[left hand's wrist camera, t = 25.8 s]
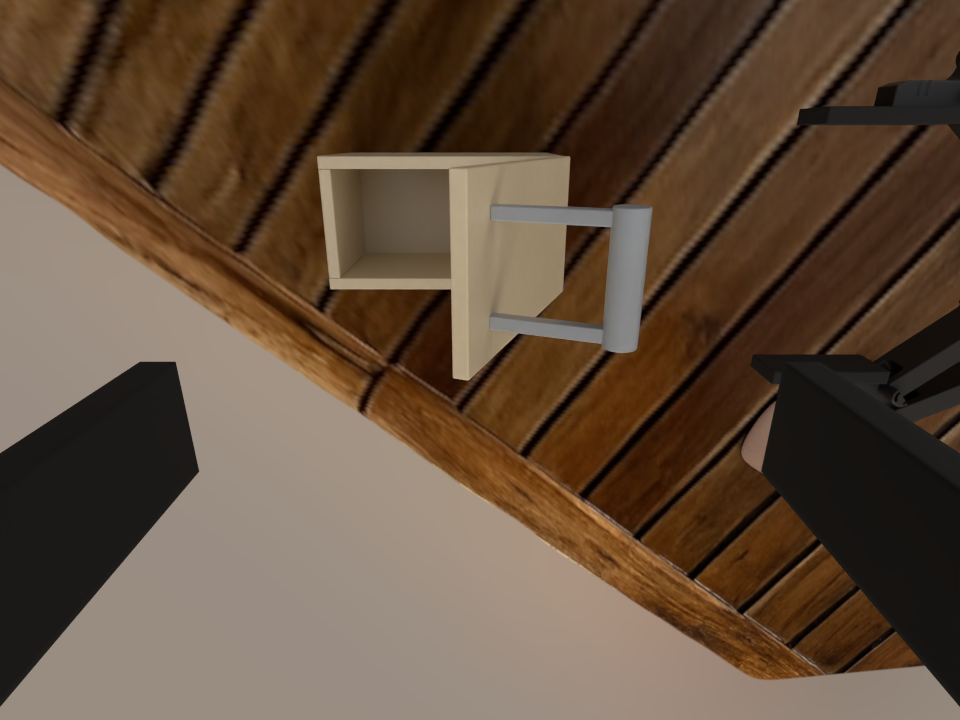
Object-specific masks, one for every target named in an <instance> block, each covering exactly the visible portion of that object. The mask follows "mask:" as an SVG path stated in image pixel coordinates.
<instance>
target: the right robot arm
mask: <svg viewBox="0 0 960 720" xmlns="http://www.w3.org/2000/svg"><path fill="white" fill-rule="evenodd" d="M956 66H957V68H956V70H955V71H954V73H953V74H952V75H951V76H950V77H949V78H948V79H947V80H945V81H902V82H895V83H889V84H886V85H884V86H881V87H879V88H878V92H877V96H876V100H875V104H874V106H830V107H819V108H808V109H800V111H799V117H798V122H797V125H937V124H948V125H949V127H950V128H951V129H952V130H953V131H954V133H955V134H956V135H957V136H958V138H959V139H960V51H959V53H958V55H957V57H956ZM959 303H960V301H959ZM784 362H821V363H823V364H824V365H826V366H827V367H829V368H830V369H832V370H833V371H835V372H836V373H838V374H839V375H841V376H842V377H844V378H845V379H847V380H848V381H850V382H852V383H853V384H855V385H856V386H858V387H859V388H861V389H862V390H864V391H865V392H867V393H868V394H870V395H871V396H873V397H874V398H876V399H878V400H879V401H881V402H882V403H884V404H885V405H887V406H888V407H890V408H891V409H893V410H894V411H896V412H897V413H899V414H900V415H902V416H903V417H905V418H907V419H908V420H910V421H911V422H915V421H917V420H920V419H923V418H925V417H928V416H930V415H933V414H935V413H938V412H941V411H943V410H946V409H948V408H951V407H953V406H956V405H959V404H960V305H959V306H958V307H957V308H956V309H954V310H953V311H951V312H950V313H948V314H946V315H945V316H943V317H942V318H940V319H939V320H937V321H936V322H934V323H932V324H931V325H929V326H928V327H926V328H925V329H923V330H922V331H920V332H919V333H917V334H915V335H914V336H912V337H911V338H909V339H908V340H906V341H905V342H903V343H902V344H900V345H898V346H897V347H895V348H894V349H892V350H891V351H889V352H888V353H886V354H884V355H883V356H881V357H880V358H878V359H877V360H875V361H874V362H872V361H870V360H869V359H867V358H865V357H863V356H862V355H753V357H752V362H751V367H752V368H754V369H755V370H756V371H757V372H758V373H760V374H761V375H762V376H763V377H764V378H766V379H767V380H768V381H769V382H770V383H771V384H780V380H781V376H782V371H783V366H784Z"/></svg>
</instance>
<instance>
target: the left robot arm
mask: <svg viewBox="0 0 960 720" xmlns="http://www.w3.org/2000/svg"><path fill="white" fill-rule="evenodd" d="M198 472H199V469H198V464H197V460H196V455H195V450H194V446H193V441H192V436H191V432H190V427H189V422H188V418H187V413H186V409H185V404H184V399H183V394H182V390H181V385H180V381H179V376H178V371H177V366H176V362H139V363H138V364H136V365H134V366H133V367H131V368H130V369H128V370H127V371H125V372H124V373H122V374H121V375H119V376H118V377H116V378H115V379H113V380H112V381H110V382H108V383H107V384H105V385H104V386H102V387H101V388H99V389H98V390H96V391H95V392H93V393H92V394H90V395H89V396H87V397H86V398H84V399H82V400H81V401H79V402H78V403H76V404H75V405H73V406H72V407H70V408H69V409H67V410H66V411H64V412H63V413H61V414H60V415H58V416H57V417H55V418H54V419H52V420H50V421H49V422H47V423H46V424H44V425H43V426H41V427H40V428H38V429H37V430H35V431H34V432H32V433H31V434H29V435H27V436H26V437H24V438H23V439H21V440H20V441H18V442H17V443H15V444H14V445H12V446H11V447H9V448H8V449H6V450H5V451H3V452H2V453H0V706H1V705H2V704H3V703H4V702H5V700H6V699H7V698H8V697H9V696H10V694H11V693H12V692H13V691H14V690H15V689H16V687H17V686H18V685H19V684H20V683H21V681H22V680H23V679H24V678H25V677H26V676H27V674H28V673H29V672H30V671H31V670H32V668H33V667H34V666H35V665H36V664H37V663H38V661H39V660H40V659H41V658H42V657H43V655H44V654H45V653H46V652H47V651H48V650H49V648H50V647H51V646H52V645H53V644H54V642H55V641H56V640H57V639H58V638H59V637H60V635H61V634H62V633H63V632H64V631H65V629H66V628H67V627H68V626H69V625H70V623H71V622H72V621H73V620H74V619H75V618H76V616H77V615H78V614H79V613H80V612H81V611H82V609H83V608H84V607H85V606H86V605H87V603H88V602H89V601H90V600H91V599H92V597H93V596H94V595H95V594H96V593H97V592H98V590H99V589H100V588H101V587H102V586H103V585H104V583H105V582H106V581H107V580H108V579H109V577H110V576H111V575H112V574H113V573H114V572H115V570H116V569H117V568H118V567H119V566H120V564H121V563H122V562H123V561H124V560H125V558H126V557H127V556H128V555H129V554H130V553H131V551H132V550H133V549H134V548H135V547H136V545H137V544H138V543H139V542H140V541H141V540H142V538H143V537H144V536H145V535H146V534H147V532H148V531H149V530H150V529H151V528H152V527H153V525H154V524H155V523H156V522H157V521H158V519H159V518H160V517H161V516H162V515H163V514H164V512H165V511H166V510H167V509H168V508H169V506H170V505H171V504H172V503H173V502H174V501H175V499H176V498H177V497H178V496H179V495H180V493H181V492H182V491H183V490H184V489H185V488H186V486H187V485H188V484H189V483H190V482H191V480H192V479H193V478H194V477H195V476H196V475H197V473H198ZM761 472H762V473H763V475H764V476H765V477H766V478H767V479H768V480H769V482H770V483H771V484H772V485H773V486H774V488H775V489H776V490H777V491H778V492H779V493H780V495H781V496H782V497H783V498H784V499H785V501H786V502H787V503H788V504H789V505H790V506H791V508H792V509H793V510H794V511H795V512H796V514H797V515H798V516H799V517H800V518H801V519H802V521H803V522H804V523H805V524H806V525H807V527H808V528H809V529H810V530H811V531H812V532H813V534H814V535H815V536H816V537H817V538H818V540H819V541H820V542H821V543H822V544H823V545H824V547H825V548H826V549H827V550H828V551H829V553H830V554H831V555H832V556H833V557H834V558H835V560H836V561H837V562H838V563H839V564H840V566H841V567H842V568H843V569H844V570H845V572H846V573H847V574H848V575H849V576H850V577H851V579H852V580H853V581H854V582H855V583H856V585H857V586H858V587H859V588H860V589H861V590H862V592H863V593H864V594H865V595H866V596H867V598H868V599H869V600H870V601H871V602H872V603H873V605H874V606H875V607H876V608H877V609H878V611H879V612H880V613H881V614H882V615H883V616H884V618H885V619H886V620H887V621H888V622H889V624H890V625H891V626H892V627H893V628H894V629H895V631H896V632H897V633H898V634H899V635H900V637H901V638H902V639H903V640H904V641H905V642H906V644H907V645H908V646H909V647H910V648H911V650H912V651H913V652H914V653H915V654H916V655H917V657H918V658H919V659H920V660H921V661H922V663H923V664H924V665H925V666H926V667H927V668H928V670H929V671H930V672H931V673H932V674H933V676H934V677H935V678H936V679H937V680H938V681H939V683H940V684H941V685H942V686H943V687H944V689H945V690H946V691H947V692H948V693H949V694H950V696H951V697H952V698H953V699H954V700H955V702H956V703H957V704H958V705H959V706H960V453H958V452H957V451H955V450H954V449H952V448H951V447H949V446H948V445H946V444H945V443H943V442H942V441H940V440H939V439H937V438H936V437H934V436H933V435H931V434H929V433H928V432H926V431H925V430H923V429H922V428H920V427H919V426H917V425H916V424H914V423H913V422H911V421H910V420H908V419H907V418H905V417H903V416H902V415H900V414H899V413H897V412H896V411H894V410H893V409H891V408H890V407H888V406H887V405H885V404H884V403H882V402H881V401H879V400H878V399H876V398H874V397H873V396H871V395H870V394H868V393H867V392H865V391H864V390H862V389H861V388H859V387H858V386H856V385H855V384H853V383H852V382H850V381H848V380H847V379H845V378H844V377H842V376H841V375H839V374H838V373H836V372H835V371H833V370H832V369H830V368H829V367H827V366H826V365H824V364H823V363H821V362H784V366H783V371H782V376H781V380H780V385H779V390H778V394H777V399H776V404H775V408H774V413H773V418H772V422H771V427H770V432H769V436H768V441H767V446H766V450H765V455H764V460H763V464H762V469H761Z"/></svg>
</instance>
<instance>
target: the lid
mask: <svg viewBox="0 0 960 720" xmlns="http://www.w3.org/2000/svg"><path fill="white" fill-rule="evenodd" d="M569 171H570V157H569V156H557V157H547V158H538V159H528V160H518V161H509V162H499V163H489V164H479V165H470V166H460V167H451V168H449V197H450V249H451V301H452V352H453V378H456V379H462V380H469V379H470V378H471V377H473V376H474V375H475V374H476V373H477V372H478V371H479V370H480V369H481V368H482V367H483V366H484V365H485V364H486V363H487V362H488V361H489V360H491V359H492V358H493V357H494V356H495V355H496V354H497V353H498V352H499V351H500V350H501V349H502V348H503V347H504V346H505V345H506V344H507V343H508V342H510V341H511V340H512V339H513V338H514V337H515V336H516V335H517V334H518V333H521V334H529V335H537V336H545V337H553V338H561V339H568V340H576V341H584V342H592V343H600V344H601V346H602V347H603V348H604V349H606V350H608V351H612V352H618V353H627V352H633V351H635V350H636V349H637V345H638V336H639V327H640V318H641V309H642V300H643V291H644V282H645V272H646V263H647V254H648V245H649V236H650V227H651V218H652V207H651V206H646V205H632V204H625V205H615V206H613V209H611V208H588V207H568V189H569ZM566 225H581V226H599V227H611V234H610V245H609V257H608V269H607V281H606V293H605V305H604V317H603V325H598V324H589V323H580V322H572V321H563V320H554V319H546V318H537V317H536V316H537V315H538V314H539V313H540V312H541V311H542V310H543V309H544V308H545V307H546V306H548V305H549V304H550V303H551V302H552V301H553V300H554V299H555V298H556V297H557V296H558V295H559V294H560V293H561V292H562V291H563V279H564V261H565V243H566Z"/></svg>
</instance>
